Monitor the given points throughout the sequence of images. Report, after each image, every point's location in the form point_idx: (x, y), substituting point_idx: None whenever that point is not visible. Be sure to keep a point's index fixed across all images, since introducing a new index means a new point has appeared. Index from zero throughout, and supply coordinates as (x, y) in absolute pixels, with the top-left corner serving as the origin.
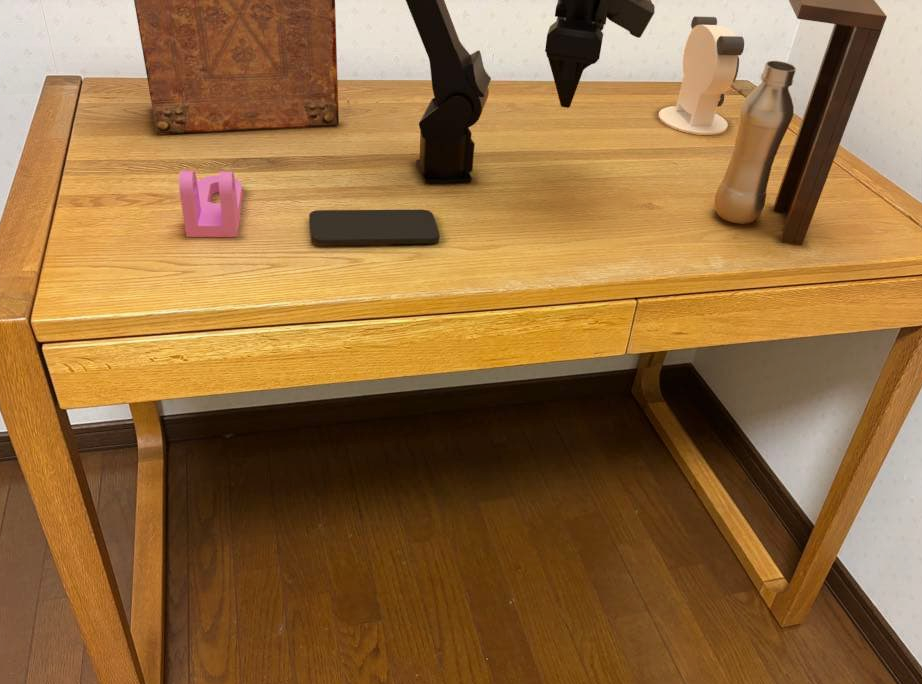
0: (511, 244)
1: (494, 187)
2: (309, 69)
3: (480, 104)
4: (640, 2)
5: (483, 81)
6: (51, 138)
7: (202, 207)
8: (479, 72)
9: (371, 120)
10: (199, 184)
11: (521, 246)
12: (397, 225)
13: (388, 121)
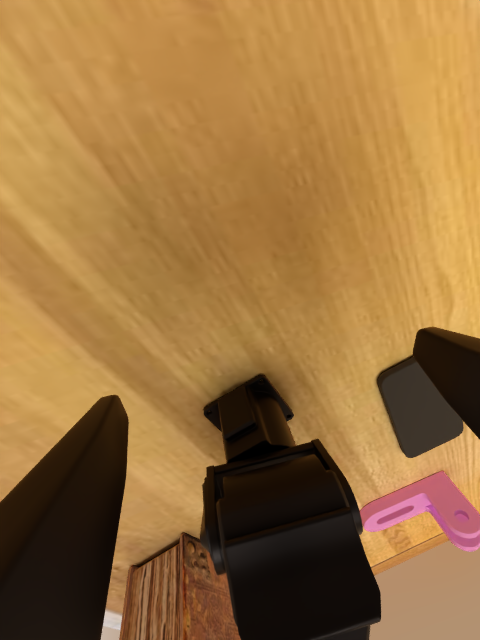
0: (433, 261)
1: (261, 341)
2: (208, 633)
3: (341, 491)
4: None
5: (292, 547)
6: None
7: (422, 507)
8: (301, 579)
9: (139, 523)
10: (383, 527)
11: (438, 245)
12: (426, 392)
13: (127, 513)
